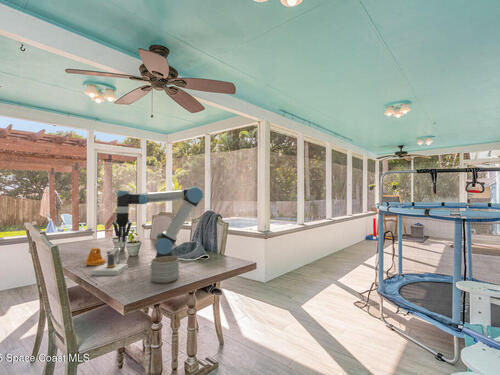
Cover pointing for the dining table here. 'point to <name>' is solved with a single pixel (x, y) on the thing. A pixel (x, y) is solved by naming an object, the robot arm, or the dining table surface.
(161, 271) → the planter
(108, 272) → the socket block
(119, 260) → the handle
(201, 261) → the dining table surface
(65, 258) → the dining table surface
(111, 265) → the plug
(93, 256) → the bracket
